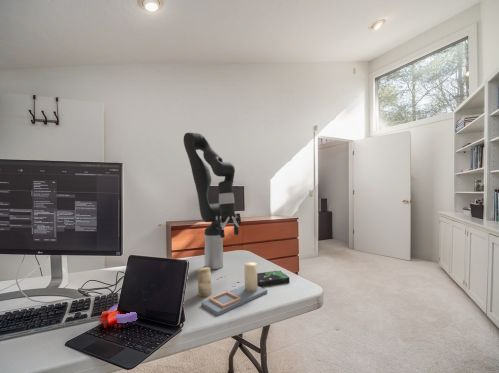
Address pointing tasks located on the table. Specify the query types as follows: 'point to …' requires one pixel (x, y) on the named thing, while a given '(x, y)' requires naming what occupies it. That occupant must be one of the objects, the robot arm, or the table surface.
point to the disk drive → (271, 278)
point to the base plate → (236, 293)
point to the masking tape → (124, 316)
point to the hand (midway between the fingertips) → (229, 236)
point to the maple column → (204, 282)
